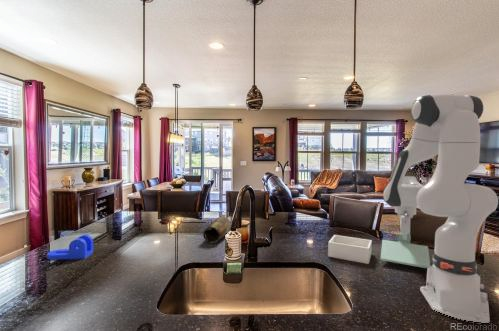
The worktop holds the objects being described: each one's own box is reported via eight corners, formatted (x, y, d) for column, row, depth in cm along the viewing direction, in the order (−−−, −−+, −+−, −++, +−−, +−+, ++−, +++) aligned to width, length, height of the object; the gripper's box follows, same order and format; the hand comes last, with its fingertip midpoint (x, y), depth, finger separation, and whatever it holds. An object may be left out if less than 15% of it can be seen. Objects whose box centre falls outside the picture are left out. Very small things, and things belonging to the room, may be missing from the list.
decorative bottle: (223, 239, 145) (243, 219, 189) (213, 222, 146) (236, 206, 190) (206, 248, 147) (231, 226, 191) (197, 230, 148) (223, 213, 192)
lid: (430, 270, 112) (431, 259, 110) (380, 261, 121) (380, 251, 119) (427, 245, 126) (427, 236, 125) (382, 239, 135) (382, 230, 134)
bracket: (93, 252, 133) (93, 234, 133) (85, 258, 125) (84, 239, 124) (53, 253, 131) (53, 235, 131) (42, 260, 123) (42, 240, 122)
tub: (368, 263, 122) (369, 248, 121) (328, 256, 130) (328, 242, 130) (371, 254, 134) (371, 240, 134) (334, 248, 142) (334, 234, 142)
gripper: (414, 214, 118) (413, 245, 118) (412, 206, 136) (411, 234, 136) (397, 212, 121) (396, 243, 121) (397, 205, 139) (397, 232, 139)
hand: (404, 238), depth 129 cm, fingers closed on lid
